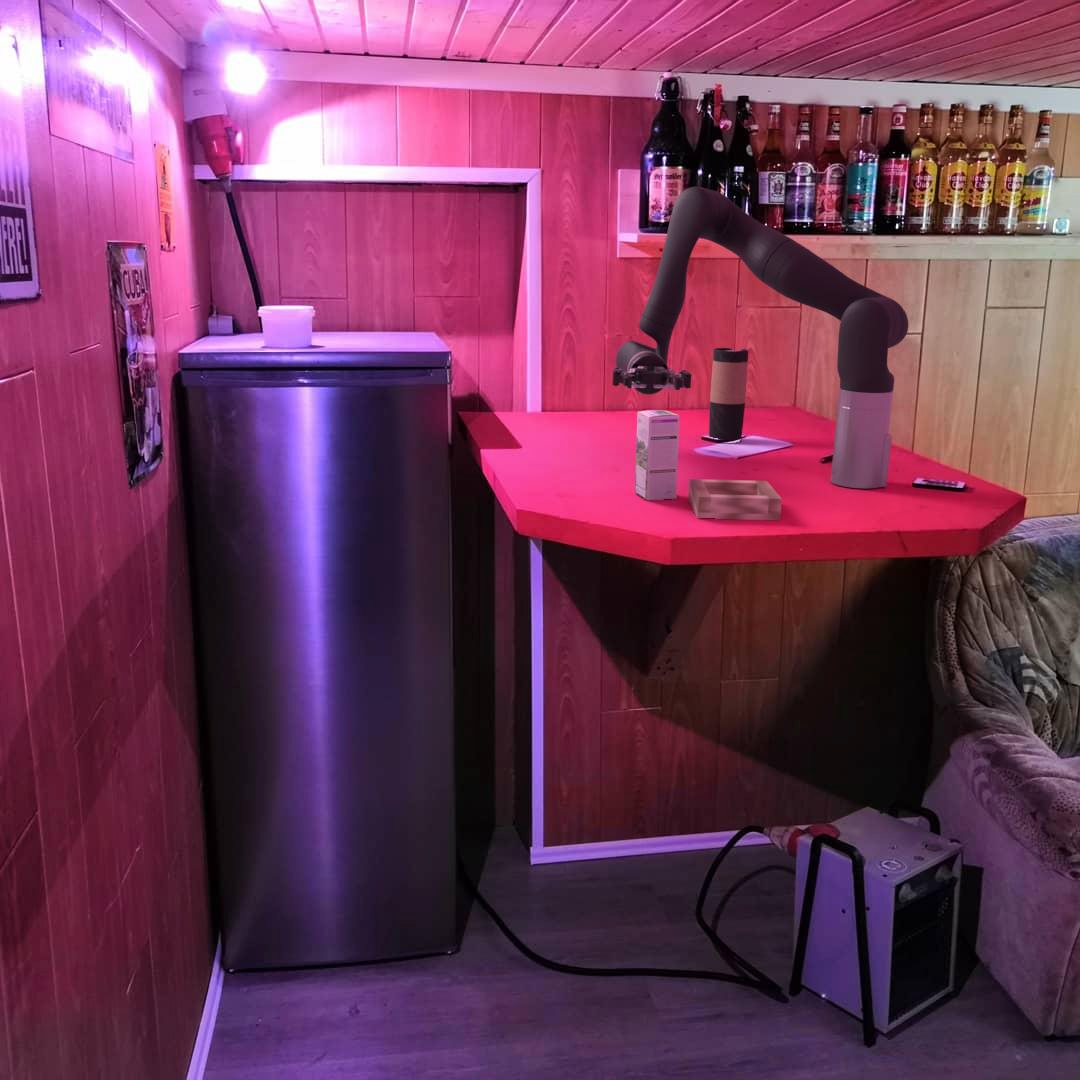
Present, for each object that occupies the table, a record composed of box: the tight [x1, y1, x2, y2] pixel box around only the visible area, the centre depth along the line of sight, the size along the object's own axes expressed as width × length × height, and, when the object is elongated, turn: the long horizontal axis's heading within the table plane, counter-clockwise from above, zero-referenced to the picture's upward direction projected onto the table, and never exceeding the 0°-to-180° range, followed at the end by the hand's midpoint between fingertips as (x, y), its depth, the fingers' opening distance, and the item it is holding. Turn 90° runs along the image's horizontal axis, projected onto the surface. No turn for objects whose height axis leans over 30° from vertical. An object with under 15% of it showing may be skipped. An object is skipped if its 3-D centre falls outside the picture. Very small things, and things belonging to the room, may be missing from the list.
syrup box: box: [634, 409, 681, 501], centre depth 178 cm, size 6×6×14 cm
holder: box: [687, 478, 783, 521], centre depth 172 cm, size 13×13×4 cm
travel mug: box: [708, 347, 749, 440], centre depth 231 cm, size 8×8×20 cm
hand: (654, 383), depth 186 cm, fingers open, 8 cm apart
